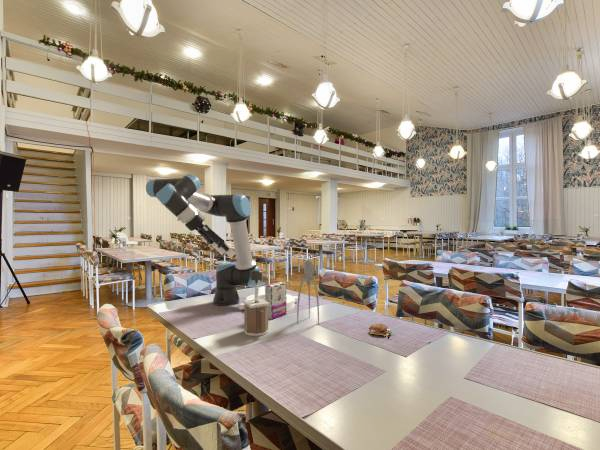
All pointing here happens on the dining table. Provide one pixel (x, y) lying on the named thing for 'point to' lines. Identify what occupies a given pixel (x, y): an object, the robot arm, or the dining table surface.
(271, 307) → the candy bar box
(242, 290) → the dining table surface
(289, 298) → the white circle with bar
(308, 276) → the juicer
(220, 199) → the robot arm
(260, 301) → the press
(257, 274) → the dark knobbed rod
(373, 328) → the hamburger
